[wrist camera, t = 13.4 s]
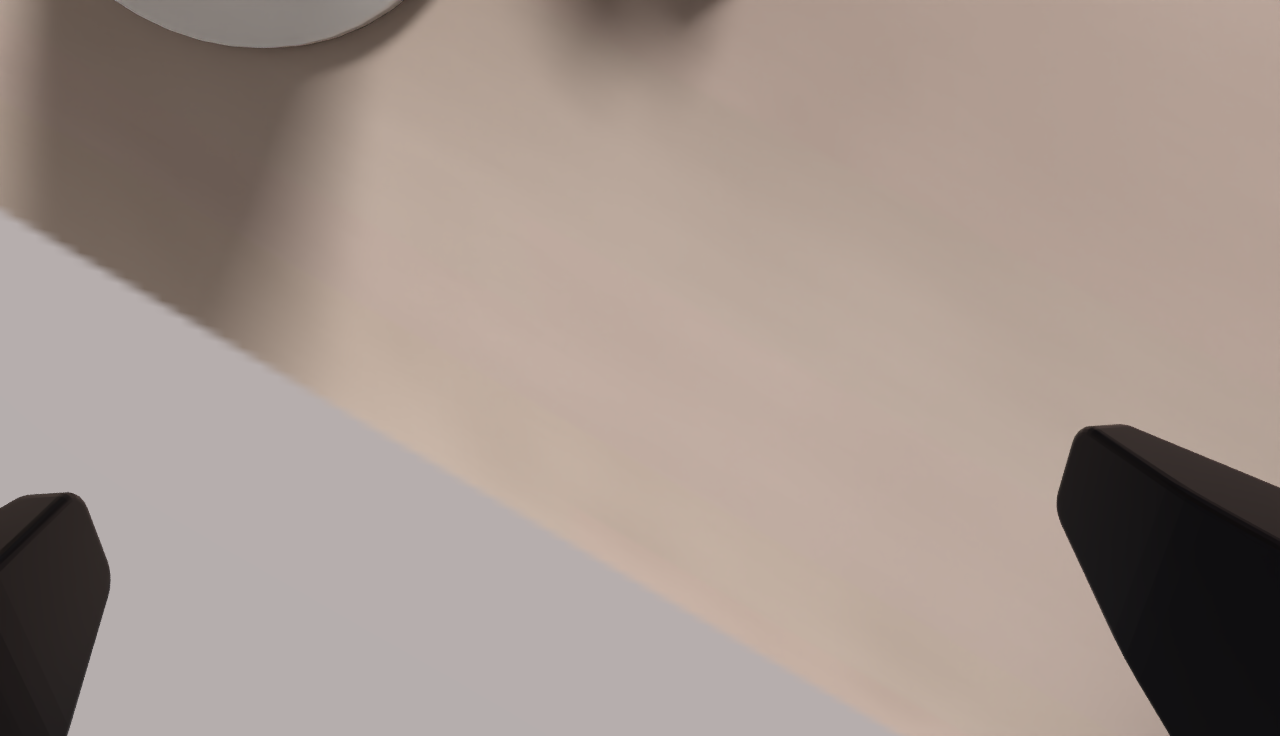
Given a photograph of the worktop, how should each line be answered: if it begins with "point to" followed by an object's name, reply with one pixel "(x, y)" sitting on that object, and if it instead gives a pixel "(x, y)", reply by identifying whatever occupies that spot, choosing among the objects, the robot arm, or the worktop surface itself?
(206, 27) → the coaster
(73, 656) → the robot arm
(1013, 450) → the worktop surface
